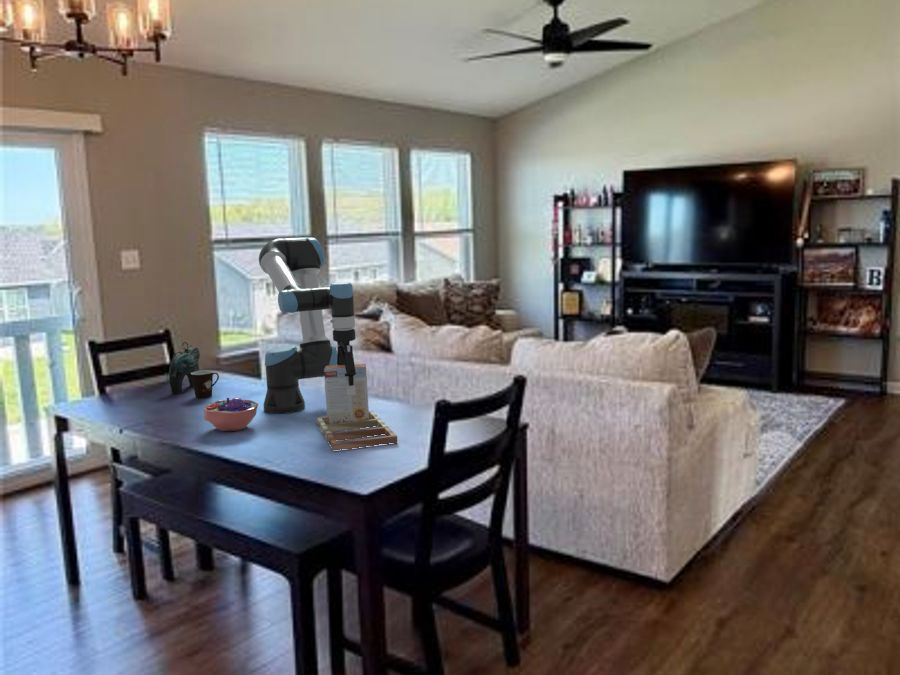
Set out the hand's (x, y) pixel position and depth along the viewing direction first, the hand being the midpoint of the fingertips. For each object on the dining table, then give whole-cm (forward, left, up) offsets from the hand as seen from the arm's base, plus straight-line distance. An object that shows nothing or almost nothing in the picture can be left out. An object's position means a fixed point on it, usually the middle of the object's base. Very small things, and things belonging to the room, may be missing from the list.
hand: (347, 390), depth 250 cm
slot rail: (+10, 0, -12) cm, 16 cm away
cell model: (-13, -38, -13) cm, 42 cm away
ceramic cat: (-86, -53, -13) cm, 102 cm away
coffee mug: (-68, -45, -12) cm, 83 cm away
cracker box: (0, 0, -13) cm, 13 cm away
